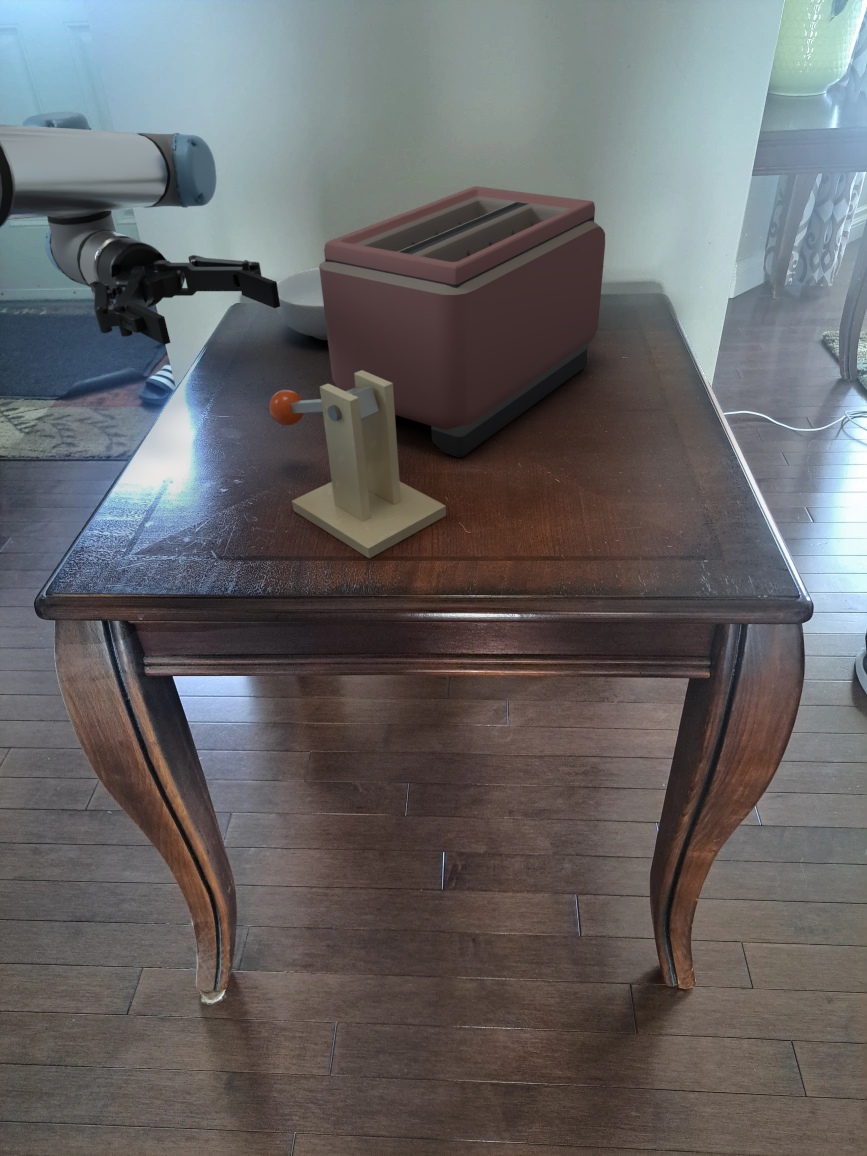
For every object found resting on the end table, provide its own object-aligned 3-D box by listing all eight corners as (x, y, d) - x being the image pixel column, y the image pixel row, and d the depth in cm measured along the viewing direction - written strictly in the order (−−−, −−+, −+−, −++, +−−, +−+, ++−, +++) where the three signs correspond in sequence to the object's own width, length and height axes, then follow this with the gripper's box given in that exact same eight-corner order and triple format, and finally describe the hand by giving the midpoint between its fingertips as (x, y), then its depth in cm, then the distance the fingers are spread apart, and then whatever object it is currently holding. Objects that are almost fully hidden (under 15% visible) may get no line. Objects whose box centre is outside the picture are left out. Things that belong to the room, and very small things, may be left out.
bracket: (293, 510, 84) (272, 383, 76) (368, 473, 89) (356, 351, 81) (369, 558, 77) (355, 424, 68) (446, 515, 82) (442, 386, 74)
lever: (270, 430, 87) (258, 397, 85) (297, 418, 89) (286, 386, 87) (357, 428, 74) (345, 389, 73) (387, 415, 76) (376, 376, 75)
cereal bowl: (291, 311, 130) (284, 265, 126) (396, 309, 129) (393, 263, 125) (270, 354, 116) (261, 304, 112) (387, 352, 116) (384, 302, 111)
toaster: (611, 354, 112) (627, 191, 100) (460, 466, 90) (457, 273, 77) (491, 327, 122) (492, 175, 109) (327, 423, 99) (305, 244, 86)
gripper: (222, 276, 108) (321, 314, 96) (35, 330, 95) (122, 383, 82) (210, 215, 104) (312, 247, 91) (12, 264, 90) (100, 309, 78)
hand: (222, 312), depth 87 cm, fingers open, 13 cm apart
